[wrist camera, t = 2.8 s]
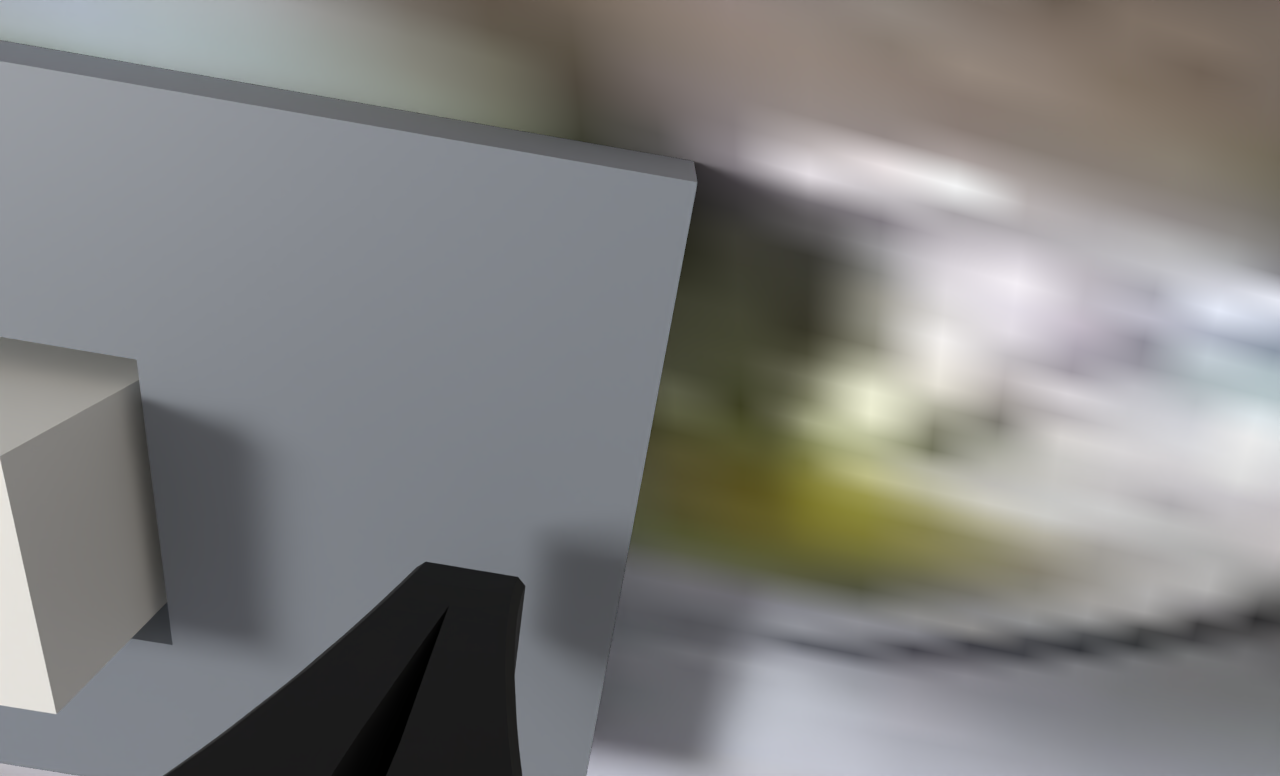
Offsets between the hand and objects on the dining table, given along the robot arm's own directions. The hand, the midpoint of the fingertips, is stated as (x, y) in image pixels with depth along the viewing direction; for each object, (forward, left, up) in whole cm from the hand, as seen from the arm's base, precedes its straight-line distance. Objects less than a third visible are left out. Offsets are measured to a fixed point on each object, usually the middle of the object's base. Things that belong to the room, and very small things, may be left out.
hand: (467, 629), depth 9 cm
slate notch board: (0, +4, -4) cm, 6 cm away
